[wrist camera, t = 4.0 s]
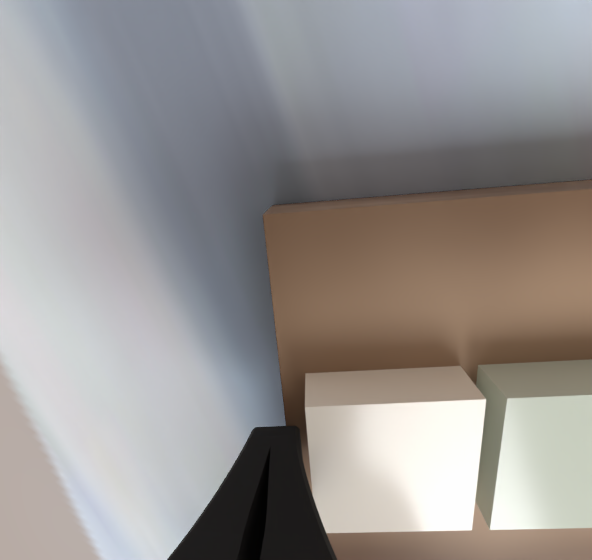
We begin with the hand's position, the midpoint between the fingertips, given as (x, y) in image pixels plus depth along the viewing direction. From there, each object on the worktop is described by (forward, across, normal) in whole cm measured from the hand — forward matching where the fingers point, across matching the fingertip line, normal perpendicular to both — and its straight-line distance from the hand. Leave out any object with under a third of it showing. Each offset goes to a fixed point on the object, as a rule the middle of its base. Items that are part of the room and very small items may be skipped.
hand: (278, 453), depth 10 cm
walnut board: (+3, -6, 0) cm, 7 cm away
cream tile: (+1, -3, 0) cm, 3 cm away
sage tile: (+1, -8, 0) cm, 8 cm away
